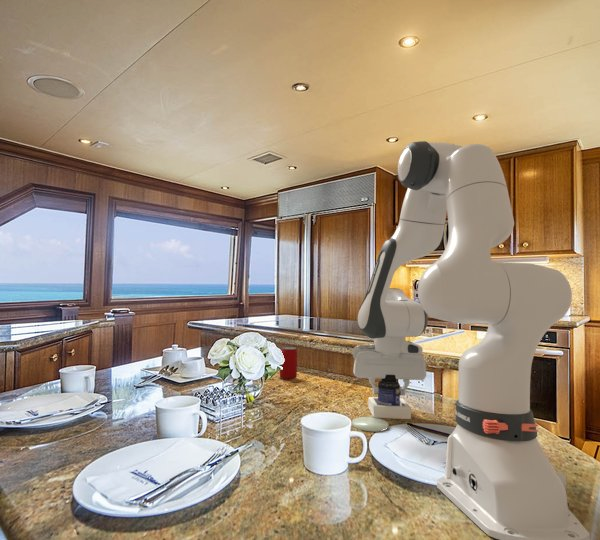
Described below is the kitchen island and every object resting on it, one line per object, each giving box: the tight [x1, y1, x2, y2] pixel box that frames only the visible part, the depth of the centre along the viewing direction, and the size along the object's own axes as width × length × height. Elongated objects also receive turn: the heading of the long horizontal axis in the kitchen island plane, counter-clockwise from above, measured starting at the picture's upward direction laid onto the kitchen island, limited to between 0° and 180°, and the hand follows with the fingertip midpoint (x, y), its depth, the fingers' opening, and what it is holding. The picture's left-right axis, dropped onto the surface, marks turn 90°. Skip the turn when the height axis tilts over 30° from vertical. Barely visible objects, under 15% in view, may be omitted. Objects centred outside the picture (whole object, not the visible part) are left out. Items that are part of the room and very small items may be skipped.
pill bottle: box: [377, 375, 401, 406], centre depth 111 cm, size 6×6×11 cm
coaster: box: [351, 416, 389, 433], centre depth 99 cm, size 9×9×1 cm
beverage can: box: [279, 346, 298, 380], centre depth 154 cm, size 7×7×12 cm
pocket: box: [367, 396, 412, 420], centre depth 110 cm, size 10×10×3 cm
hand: (388, 394), depth 111 cm, fingers closed on pill bottle, 6 cm apart
